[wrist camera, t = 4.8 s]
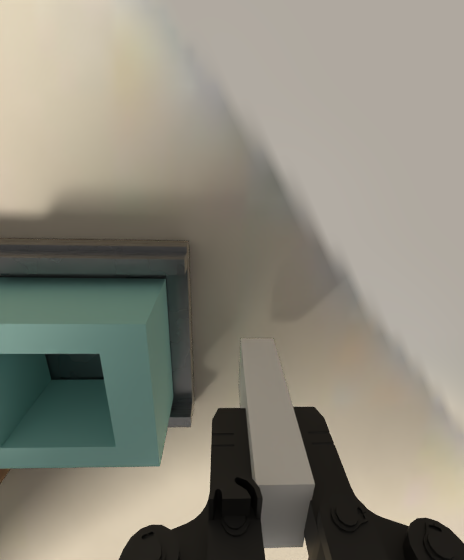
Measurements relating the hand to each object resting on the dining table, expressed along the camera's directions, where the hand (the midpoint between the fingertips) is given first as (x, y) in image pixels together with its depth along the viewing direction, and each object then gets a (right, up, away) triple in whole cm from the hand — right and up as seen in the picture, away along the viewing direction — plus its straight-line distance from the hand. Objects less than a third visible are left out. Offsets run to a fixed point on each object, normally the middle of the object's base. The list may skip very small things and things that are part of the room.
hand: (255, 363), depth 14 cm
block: (-8, +1, +1) cm, 8 cm away
